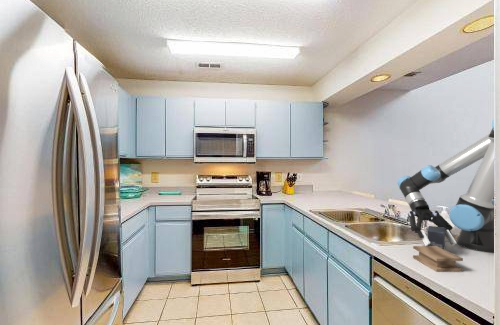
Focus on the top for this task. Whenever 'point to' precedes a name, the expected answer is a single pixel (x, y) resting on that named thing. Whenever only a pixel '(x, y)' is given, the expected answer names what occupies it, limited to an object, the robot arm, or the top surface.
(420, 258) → the stand
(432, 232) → the small box
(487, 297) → the top surface
